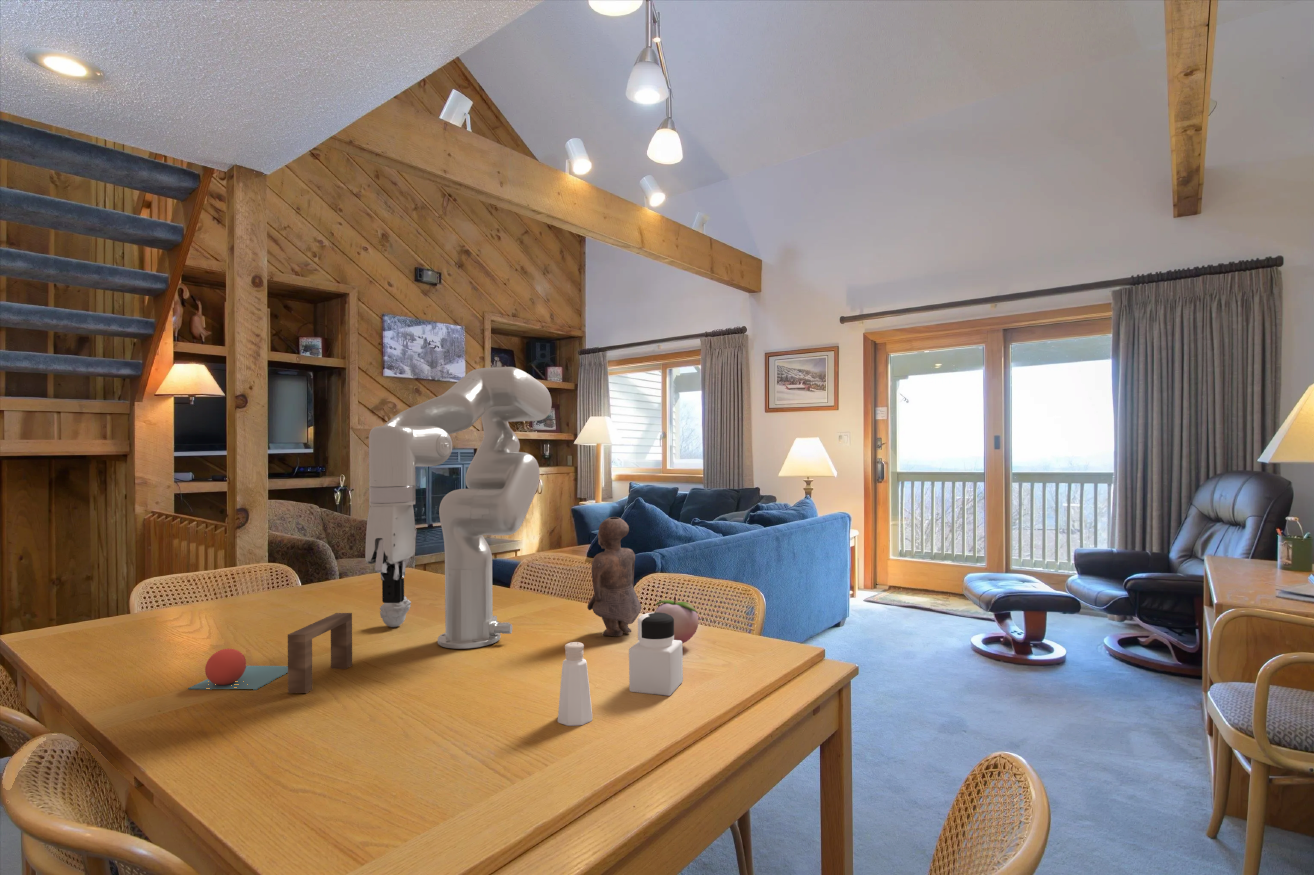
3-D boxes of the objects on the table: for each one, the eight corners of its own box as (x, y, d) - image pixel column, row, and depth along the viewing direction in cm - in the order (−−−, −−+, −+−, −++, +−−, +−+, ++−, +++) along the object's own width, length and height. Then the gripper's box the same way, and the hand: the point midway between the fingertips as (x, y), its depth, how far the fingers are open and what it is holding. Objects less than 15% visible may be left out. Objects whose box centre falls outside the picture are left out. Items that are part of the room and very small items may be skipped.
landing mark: (298, 667, 128) (298, 666, 128) (256, 690, 116) (256, 688, 116) (236, 666, 128) (236, 665, 128) (188, 689, 116) (188, 687, 116)
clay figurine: (616, 624, 156) (615, 513, 156) (652, 630, 150) (651, 515, 150) (578, 637, 145) (577, 518, 145) (615, 645, 139) (614, 521, 140)
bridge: (352, 665, 128) (351, 612, 129) (305, 693, 113) (305, 634, 114) (336, 664, 129) (336, 612, 129) (287, 693, 114) (287, 634, 114)
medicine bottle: (683, 682, 117) (682, 611, 117) (670, 696, 110) (669, 621, 110) (643, 678, 119) (643, 608, 119) (628, 692, 113) (627, 618, 113)
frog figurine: (405, 630, 153) (405, 598, 153) (374, 630, 153) (374, 598, 153) (415, 623, 159) (415, 592, 159) (385, 623, 159) (385, 593, 159)
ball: (208, 663, 121) (232, 687, 121) (189, 670, 115) (214, 696, 115) (236, 638, 122) (259, 662, 122) (219, 644, 116) (243, 670, 116)
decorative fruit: (645, 650, 135) (644, 599, 136) (660, 639, 143) (660, 591, 143) (690, 655, 132) (689, 602, 132) (703, 643, 140) (703, 594, 140)
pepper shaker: (563, 729, 98) (563, 651, 98) (551, 716, 103) (550, 642, 103) (599, 721, 100) (598, 645, 101) (585, 709, 105) (584, 637, 105)
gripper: (391, 493, 128) (392, 592, 128) (349, 500, 113) (350, 612, 113) (430, 493, 128) (431, 592, 127) (394, 499, 113) (394, 612, 113)
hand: (393, 601), depth 120 cm, fingers closed
